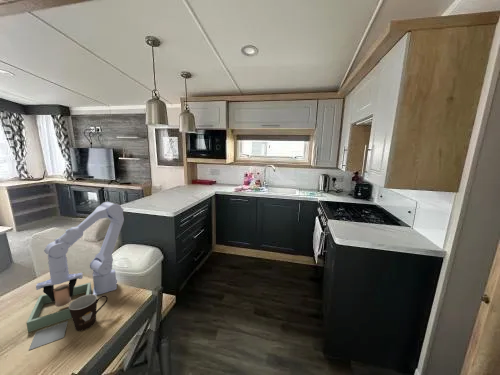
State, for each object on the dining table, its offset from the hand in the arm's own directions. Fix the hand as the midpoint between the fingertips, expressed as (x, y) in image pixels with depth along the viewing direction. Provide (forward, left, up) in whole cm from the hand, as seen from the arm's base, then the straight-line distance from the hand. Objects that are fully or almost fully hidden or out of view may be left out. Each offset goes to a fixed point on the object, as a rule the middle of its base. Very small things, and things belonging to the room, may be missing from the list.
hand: (63, 298), depth 88 cm
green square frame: (0, 0, -5) cm, 5 cm away
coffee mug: (-10, +17, -5) cm, 20 cm away
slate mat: (+2, +15, -5) cm, 16 cm away
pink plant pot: (0, 0, -2) cm, 2 cm away
